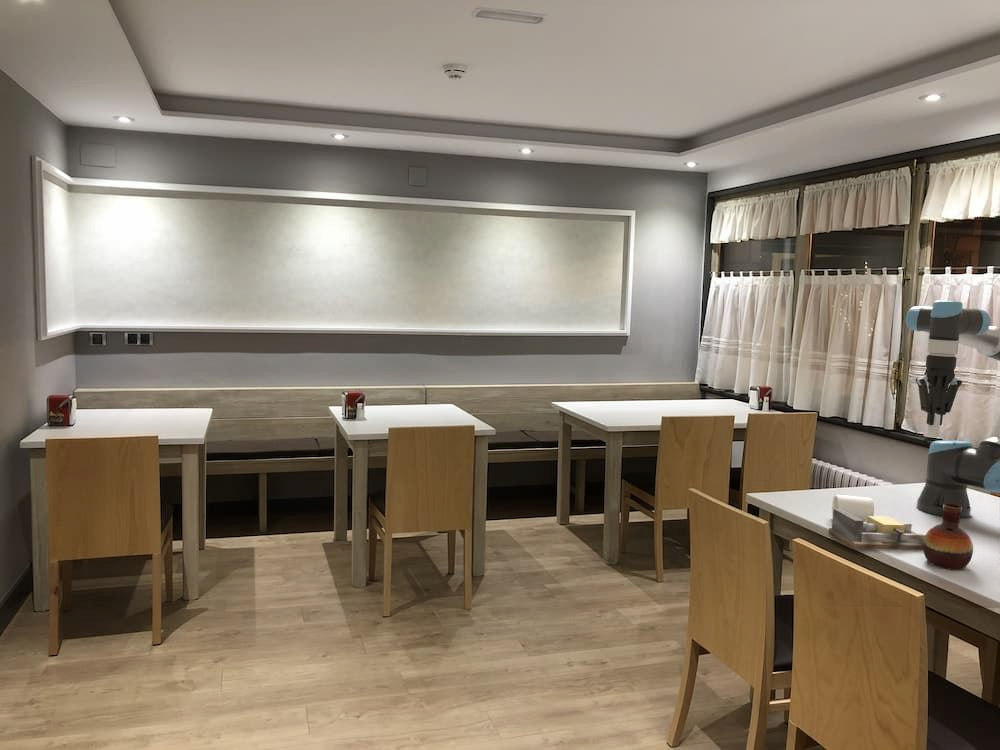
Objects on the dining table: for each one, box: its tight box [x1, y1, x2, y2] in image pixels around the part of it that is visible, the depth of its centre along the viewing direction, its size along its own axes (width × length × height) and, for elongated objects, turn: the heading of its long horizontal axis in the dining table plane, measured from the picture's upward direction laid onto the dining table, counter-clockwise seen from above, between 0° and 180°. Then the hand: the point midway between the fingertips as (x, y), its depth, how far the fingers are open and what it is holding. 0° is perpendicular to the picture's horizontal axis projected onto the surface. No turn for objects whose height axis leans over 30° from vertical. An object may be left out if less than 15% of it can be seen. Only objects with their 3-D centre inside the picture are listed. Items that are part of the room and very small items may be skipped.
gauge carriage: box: [863, 515, 905, 543], centre depth 213 cm, size 9×11×4 cm
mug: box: [831, 494, 875, 522], centre depth 234 cm, size 12×10×8 cm
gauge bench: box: [828, 509, 926, 551], centre depth 215 cm, size 24×14×7 cm, turn 95°
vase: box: [922, 504, 974, 571], centre depth 197 cm, size 11×11×15 cm
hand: (932, 436), depth 224 cm, fingers closed
